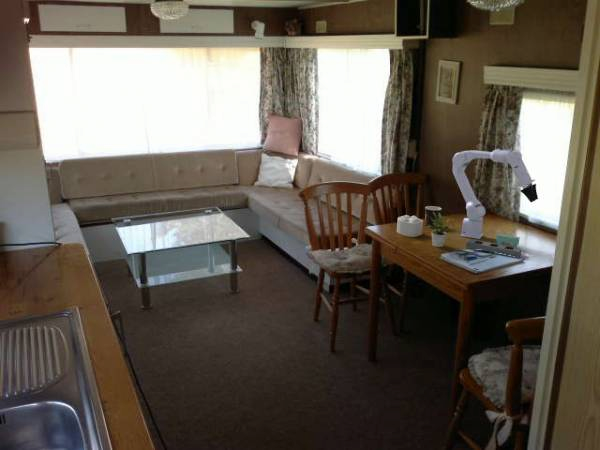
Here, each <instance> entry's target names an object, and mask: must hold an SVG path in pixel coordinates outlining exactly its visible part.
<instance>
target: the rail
mask: <svg viewBox="0 0 600 450" xmlns="http://www.w3.org/2000/svg"><path fill="white" fill-rule="evenodd" d="M465 245H466V246H465V248H466V249H468V250H472V249H482V250H487V251H492V252H497V253H502V254H506V255H511V256H515V257H514V258H516V257H518V258H517V259H520V257H521V255H522V250H523V248H521V247H518V246H517V247H512V245H506V244H504V245H503V244H502V245H500V244H497V243H493V242H488V241H482V240H479V239H477V240H476V239H473V238H471V239H468V240H467V242H466V244H465Z"/></svg>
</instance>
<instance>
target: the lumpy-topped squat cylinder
mask: <svg viewBox="0 0 600 450" xmlns="http://www.w3.org/2000/svg"><path fill="white" fill-rule="evenodd" d="M396 224H397V225H396V233H398V234H399V235H402V236H405V237H410V238H415V237H418V236H421V235H423V227H424V220H423V219H421V218H418V217H417V216H416V215H412V216H410V215H408V214H405V215H402V216H398V217H397V223H396Z"/></svg>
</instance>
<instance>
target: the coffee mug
mask: <svg viewBox="0 0 600 450" xmlns="http://www.w3.org/2000/svg"><path fill="white" fill-rule="evenodd" d="M424 211H425V212H424V213H425V214H424V217H425V218H424V220H425V227H426V228H432V229H435V228H434V227H435V225H434V224H433V223H434V220H435V221H436V219H435V215H434V213H435V214H436V216H437V221H438V214H440V215H442V214H441V213H442V208H441V207H440V206H434V205H433V206H432V205H431V206H430V205H428V206H425V207H424ZM433 212H434V213H433ZM427 215H428V216H427ZM429 217H430V218H429ZM432 220H433V221H432ZM428 224H429V225H428ZM428 226H431V227H428ZM432 226H433V227H432Z"/></svg>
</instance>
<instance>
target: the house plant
mask: <svg viewBox="0 0 600 450" xmlns="http://www.w3.org/2000/svg"><path fill="white" fill-rule="evenodd" d="M433 213H434V212H433ZM434 215H435V219H436V221H435V220H434V223H433V224H434V225H435V227H434V228H433V231H431V241H432V246H433V247H436V248H442V247H444V245H445V242H446V238H447V235H448V234H447V232H446V231H448V230H449V229H451V228H450V227H449V226H447V225H448V222H450V221H453V220H454V218H453V219H450V218H447V220H446V221H444V219H443V215H442V214H438V221H437V216H436V214H435V213H434ZM427 216H428V215H427ZM429 218H430V217H429ZM432 221H433V220H432ZM444 222H445V223H444ZM428 225H429V224H428ZM430 227H431V226H428V227H427V228H430ZM432 227H433V226H432Z"/></svg>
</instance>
